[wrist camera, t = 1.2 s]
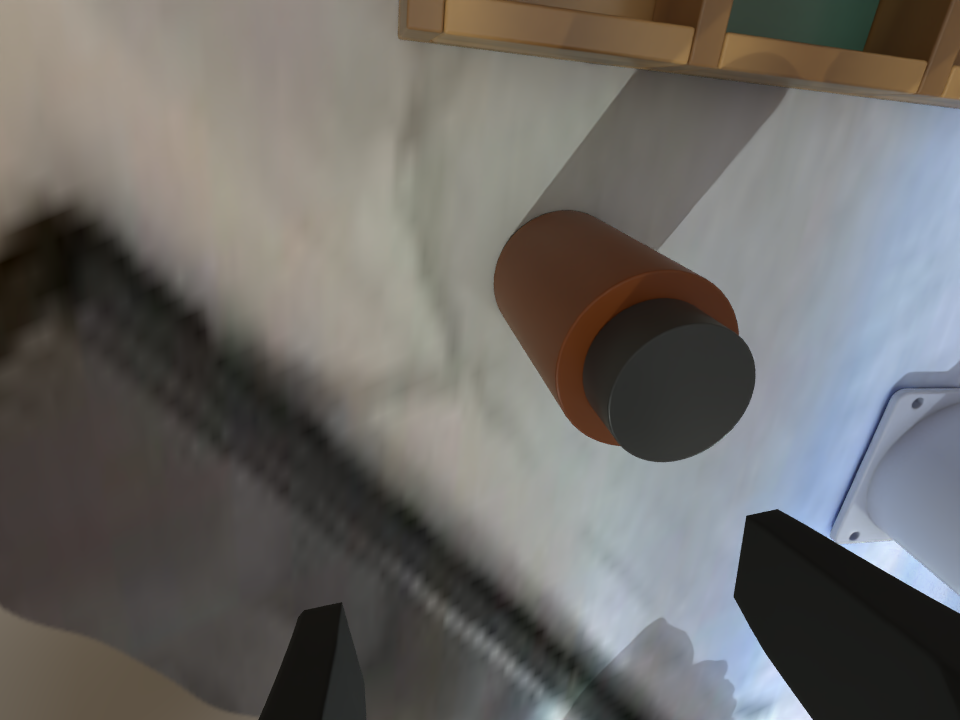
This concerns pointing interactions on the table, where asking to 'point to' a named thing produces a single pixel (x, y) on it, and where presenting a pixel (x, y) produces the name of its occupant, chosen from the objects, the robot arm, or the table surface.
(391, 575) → the table surface
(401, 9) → the spice tray
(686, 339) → the spice bottle
